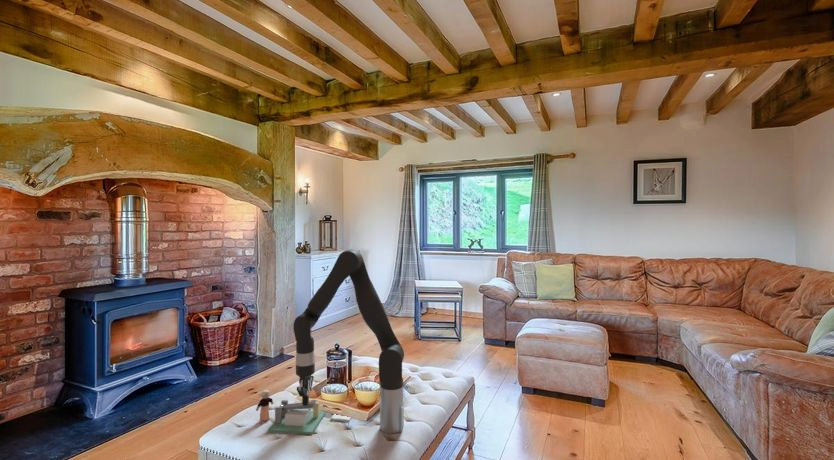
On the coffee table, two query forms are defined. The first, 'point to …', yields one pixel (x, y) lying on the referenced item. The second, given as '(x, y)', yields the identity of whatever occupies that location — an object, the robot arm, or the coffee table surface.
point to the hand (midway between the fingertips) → (305, 403)
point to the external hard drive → (340, 418)
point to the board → (298, 428)
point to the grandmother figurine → (264, 406)
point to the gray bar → (297, 405)
